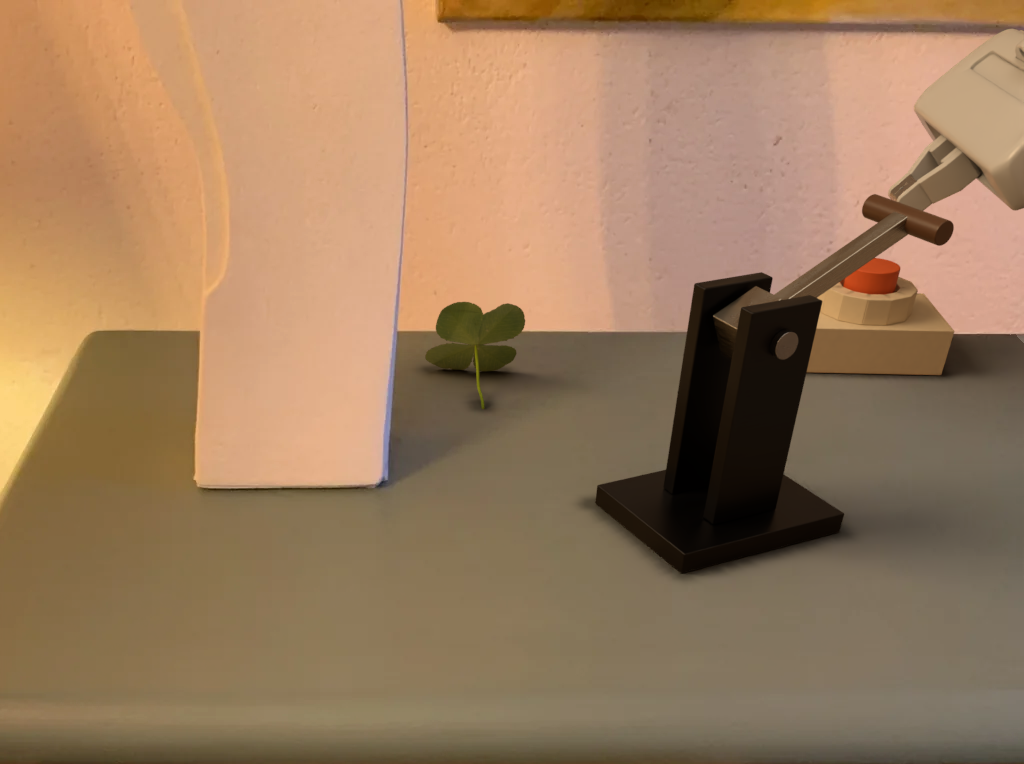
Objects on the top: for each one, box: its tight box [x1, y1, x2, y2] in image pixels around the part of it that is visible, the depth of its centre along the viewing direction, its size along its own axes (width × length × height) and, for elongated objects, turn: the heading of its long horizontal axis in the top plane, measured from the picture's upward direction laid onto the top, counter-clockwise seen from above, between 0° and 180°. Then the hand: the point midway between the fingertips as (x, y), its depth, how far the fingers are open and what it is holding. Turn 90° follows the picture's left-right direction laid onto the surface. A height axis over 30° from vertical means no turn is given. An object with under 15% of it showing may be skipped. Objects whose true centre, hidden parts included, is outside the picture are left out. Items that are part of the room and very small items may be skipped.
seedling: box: [425, 301, 526, 410], centre depth 81 cm, size 7×8×6 cm
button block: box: [806, 276, 955, 376], centre depth 85 cm, size 11×8×5 cm
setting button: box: [843, 257, 901, 295], centre depth 83 cm, size 4×4×2 cm
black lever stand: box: [595, 271, 845, 574], centre depth 63 cm, size 11×9×13 cm
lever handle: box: [713, 193, 955, 360], centre depth 60 cm, size 12×6×2 cm, turn 116°
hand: (896, 207), depth 81 cm, fingers closed
